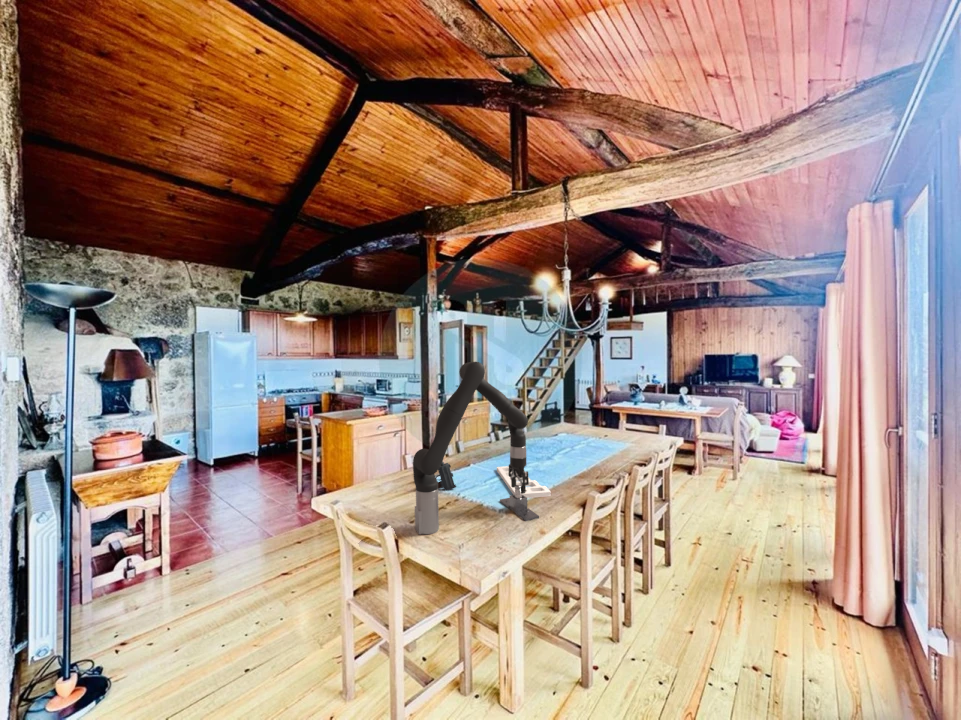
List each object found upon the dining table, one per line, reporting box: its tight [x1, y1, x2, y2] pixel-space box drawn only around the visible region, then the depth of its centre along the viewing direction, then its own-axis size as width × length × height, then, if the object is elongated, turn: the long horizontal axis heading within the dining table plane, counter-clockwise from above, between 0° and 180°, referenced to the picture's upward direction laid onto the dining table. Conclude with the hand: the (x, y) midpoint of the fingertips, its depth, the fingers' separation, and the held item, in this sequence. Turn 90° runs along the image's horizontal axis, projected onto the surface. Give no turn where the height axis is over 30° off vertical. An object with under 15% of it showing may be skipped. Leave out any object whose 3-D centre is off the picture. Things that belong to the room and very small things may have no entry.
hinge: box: [499, 494, 540, 522], centre depth 188 cm, size 7×24×6 cm, turn 25°
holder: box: [496, 465, 552, 499], centre depth 225 cm, size 45×18×3 cm, turn 10°
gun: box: [435, 460, 457, 492], centre depth 213 cm, size 3×17×15 cm
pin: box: [515, 485, 522, 499], centre depth 188 cm, size 3×3×11 cm
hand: (518, 490), depth 188 cm, fingers open, 8 cm apart
